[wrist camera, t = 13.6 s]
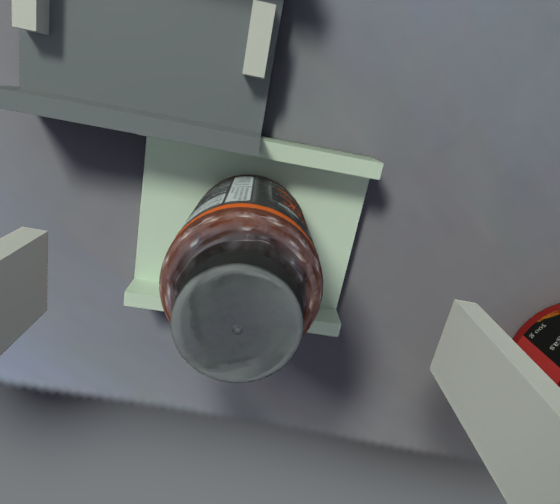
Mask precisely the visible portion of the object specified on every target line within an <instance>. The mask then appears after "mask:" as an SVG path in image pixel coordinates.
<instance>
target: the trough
mask: <svg viewBox="0 0 560 504" xmlns="http://www.w3.org/2000/svg"><path fill="white" fill-rule="evenodd" d="M137 135H140V134H137ZM141 136H145V135H141ZM146 137H147V139H146V150H145V162H144V173H143V185H142V196H141V208H140V219H139V231H138V242H137V254H136V265H135V277H134V279H133V281H132V282H131V284H130V285H129V286H128V288H127V289H126V291H125V294H124V305H125V306H131V307H138V308H145V309H152V310H158V311H164V309H163V307H162V303H161V298H160V291H159V277H160V272H161V267H162V263H163V260H164V258H165V255H166V253H167V251H168V249H169V247H170V245H171V244H172V242H173V240H174V239H175V237H176V235H177V234H178V232H179V231H180V230H181V228H182V227H183V225H184V224H185V222H186V220H187V219H188V218H189V216H190V215H191V213H192V212H193V210H194V209H195V207H196V206H197V204H198V203H199V201H200V200H201V199H202V197H203V196H204V195H205V194H206V193H207V191H208V190H210V189H211V188H212V187H213V186H214V185H216V184H218V183H219V182H221V181H222V180H224V179H227V178H230V177H233V176H239V175H259V176H263V177H267V178H269V179H271V180H273V181H275V182H277V183H279V184H280V185H281V186H283V187H284V188H285V189H286V190H287V191H288V192H289V193H290V194H291V195H292V196H293V197H294V198H295V199H296V201H297V203H298V204H299V206H300V208H301V209H302V213H303V215H304V218H305V221H306V224H307V227H308V229H309V232H310V235H311V237H312V240H313V243H314V246H315V248H316V250H317V254H318V256H319V261H320V265H321V269H322V275H323V296H322V301H321V304H320V308H319V311H318V314H317V316H316V318H315V320H314V322H313V324H312V325H311V327H310V328H309V330H308V331H307V332H306V333H313V334H320V335H327V336H333V337H338V336H339V332H340V328H341V322H340V319H339V316H338V313H337V310H336V308H337V304H338V300H339V296H340V292H341V288H342V285H343V281H344V277H345V273H346V269H347V265H348V261H349V257H350V253H351V249H352V245H353V242H354V238H355V234H356V230H357V226H358V222H359V218H360V214H361V210H362V206H363V202H364V198H365V195H366V191H367V187H368V183H369V179H370V178H372V179H377V180H380V176H381V172H382V168H383V165H384V163H382V162H380V161H378V160H376V159H374V158H372V157H369V156H364V155H358V154H353V153H348V152H343V151H337V150H332V149H327V148H322V147H317V146H311V145H306V144H301V143H296V142H291V141H285V140H280V139H275V138H270V137H264V136H261V142H260V148H259V153H258V157H257V156H252V155H247V154H241V153H236V152H231V151H225V150H220V149H215V148H209V147H204V146H198V145H193V144H188V143H182V142H177V141H172V140H166V139H161V138H156V137H150V136H146Z"/></svg>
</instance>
